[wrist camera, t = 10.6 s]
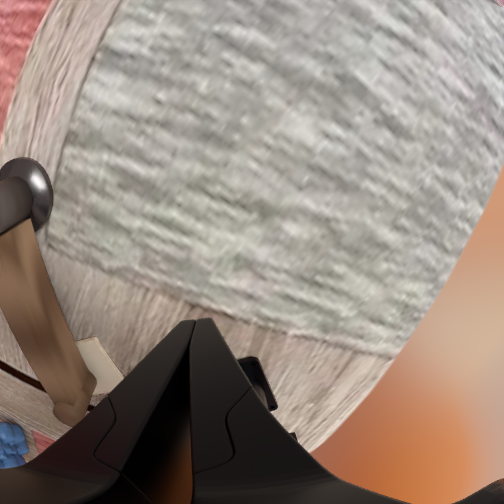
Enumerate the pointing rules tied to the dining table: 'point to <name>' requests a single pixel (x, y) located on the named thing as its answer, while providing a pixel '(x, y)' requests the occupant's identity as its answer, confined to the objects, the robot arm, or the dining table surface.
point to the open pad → (99, 365)
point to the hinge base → (32, 187)
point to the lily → (501, 2)
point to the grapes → (12, 446)
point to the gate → (38, 309)
